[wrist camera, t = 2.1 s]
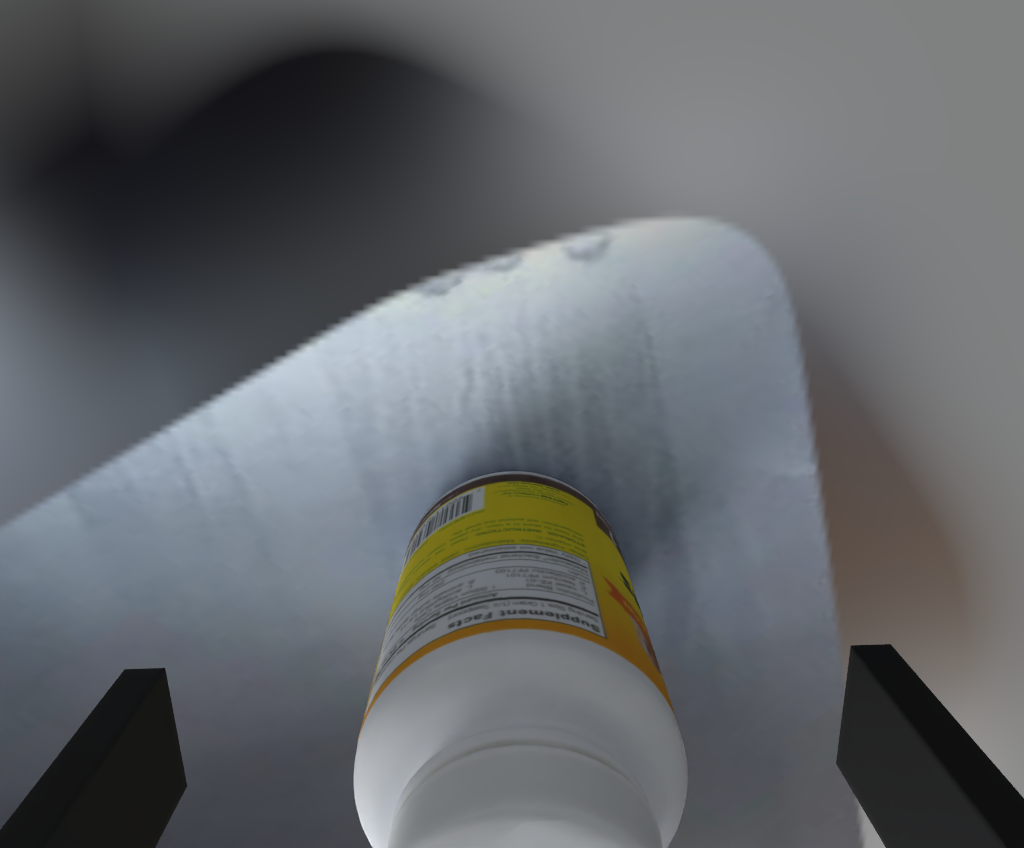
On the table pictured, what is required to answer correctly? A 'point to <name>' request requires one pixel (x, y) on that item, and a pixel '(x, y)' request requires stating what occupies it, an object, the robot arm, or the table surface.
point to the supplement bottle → (517, 684)
